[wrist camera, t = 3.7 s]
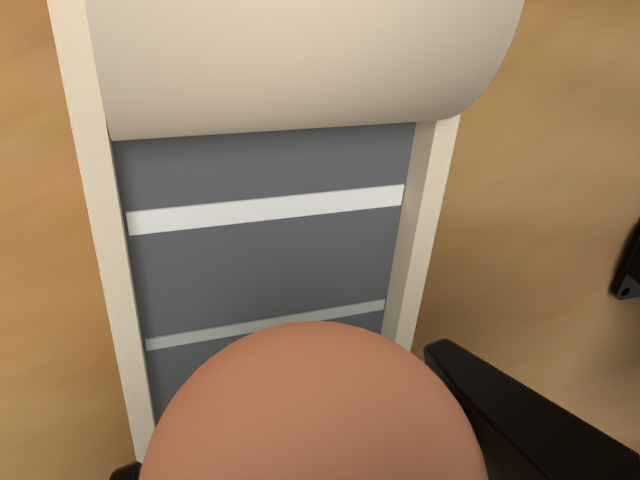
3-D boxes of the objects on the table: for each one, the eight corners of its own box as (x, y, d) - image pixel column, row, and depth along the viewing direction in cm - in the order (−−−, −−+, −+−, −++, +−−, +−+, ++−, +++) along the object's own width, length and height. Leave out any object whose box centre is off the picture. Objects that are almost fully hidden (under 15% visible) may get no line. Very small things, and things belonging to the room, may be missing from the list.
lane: (424, -188, 17) (620, -223, 10) (346, 393, 31) (409, 527, 24) (25, -238, 13) (-44, -336, 7) (144, 437, 27) (156, 605, 21)
